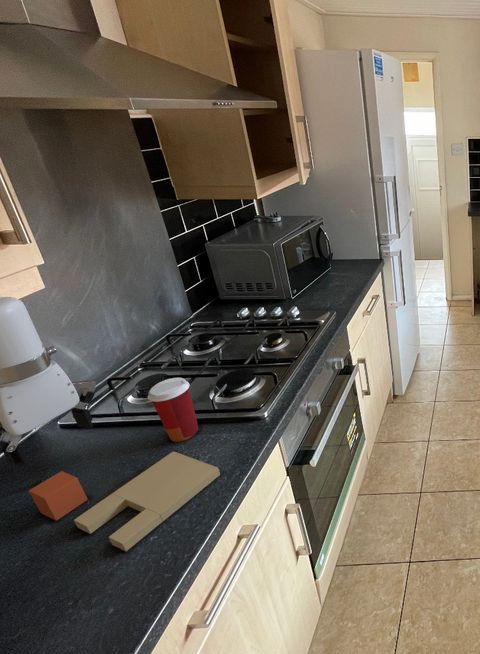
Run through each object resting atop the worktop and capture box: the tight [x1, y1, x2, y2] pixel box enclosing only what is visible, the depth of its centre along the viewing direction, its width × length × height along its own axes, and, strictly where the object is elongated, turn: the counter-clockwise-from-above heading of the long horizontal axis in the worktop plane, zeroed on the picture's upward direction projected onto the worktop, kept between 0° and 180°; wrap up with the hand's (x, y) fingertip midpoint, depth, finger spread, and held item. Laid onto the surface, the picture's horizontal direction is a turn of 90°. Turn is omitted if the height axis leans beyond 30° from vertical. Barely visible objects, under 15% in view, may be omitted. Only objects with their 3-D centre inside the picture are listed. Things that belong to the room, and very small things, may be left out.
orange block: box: [28, 470, 88, 522], centre depth 82 cm, size 5×5×6 cm
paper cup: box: [147, 377, 199, 443], centre depth 99 cm, size 8×8×14 cm
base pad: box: [73, 451, 221, 552], centre depth 84 cm, size 18×14×2 cm
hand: (56, 444), depth 78 cm, fingers open, 9 cm apart
